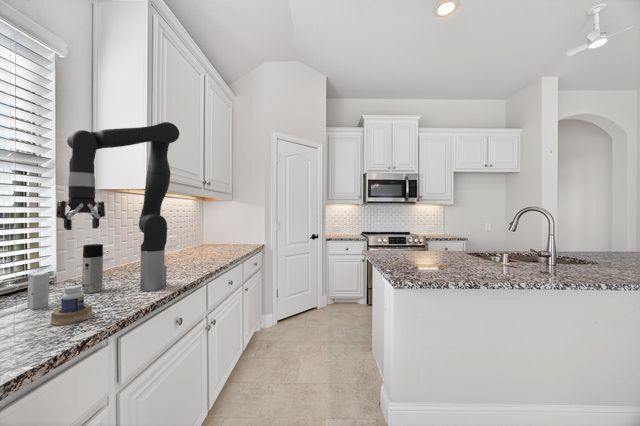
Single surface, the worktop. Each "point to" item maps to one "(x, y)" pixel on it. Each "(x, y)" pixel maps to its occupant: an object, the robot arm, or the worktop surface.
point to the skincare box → (38, 290)
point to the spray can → (92, 268)
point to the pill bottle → (72, 299)
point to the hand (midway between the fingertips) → (82, 229)
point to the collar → (71, 316)
